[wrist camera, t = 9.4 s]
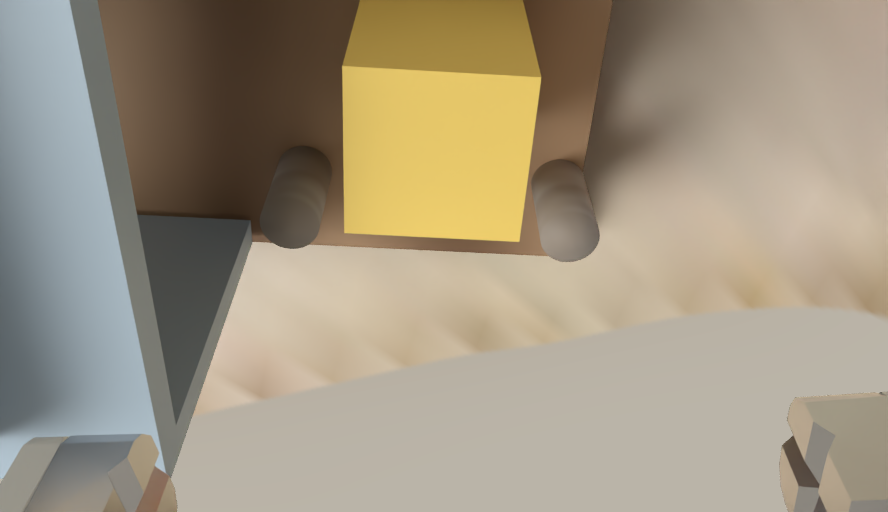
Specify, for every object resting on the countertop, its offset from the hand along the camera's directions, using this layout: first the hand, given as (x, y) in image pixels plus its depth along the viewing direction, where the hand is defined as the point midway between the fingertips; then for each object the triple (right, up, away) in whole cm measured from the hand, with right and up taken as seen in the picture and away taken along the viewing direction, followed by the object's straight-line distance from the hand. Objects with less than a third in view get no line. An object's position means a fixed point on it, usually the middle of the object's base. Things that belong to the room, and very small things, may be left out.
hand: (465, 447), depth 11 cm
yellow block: (0, +8, +12) cm, 14 cm away
